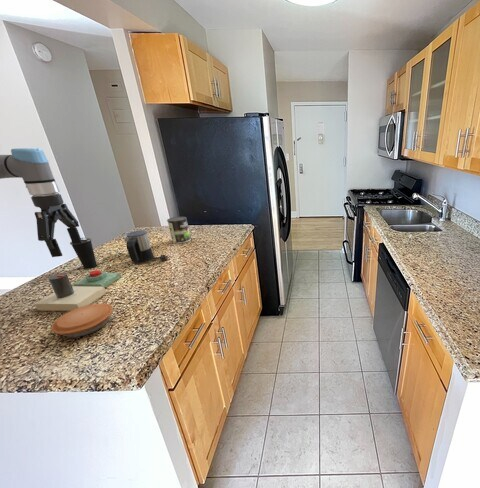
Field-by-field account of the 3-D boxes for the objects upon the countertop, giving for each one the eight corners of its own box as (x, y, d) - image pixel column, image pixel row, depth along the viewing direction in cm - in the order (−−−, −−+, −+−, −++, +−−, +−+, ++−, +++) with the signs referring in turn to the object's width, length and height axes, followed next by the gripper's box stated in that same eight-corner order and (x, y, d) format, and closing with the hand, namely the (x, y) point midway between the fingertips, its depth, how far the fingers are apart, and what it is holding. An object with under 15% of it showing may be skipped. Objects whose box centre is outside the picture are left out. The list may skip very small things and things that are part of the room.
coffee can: (194, 238, 164) (190, 216, 159) (183, 244, 155) (178, 221, 150) (179, 237, 166) (175, 216, 161) (168, 243, 156) (162, 220, 151)
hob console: (37, 310, 95) (33, 303, 94) (68, 292, 106) (65, 285, 105) (79, 311, 95) (76, 303, 93) (106, 293, 106) (103, 286, 105)
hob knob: (52, 298, 97) (43, 278, 94) (65, 290, 102) (57, 272, 99) (65, 298, 97) (57, 278, 94) (78, 291, 101) (70, 272, 98)
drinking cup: (100, 261, 133) (86, 224, 125) (100, 267, 127) (86, 228, 120) (80, 266, 128) (65, 227, 121) (80, 271, 123) (63, 232, 115)
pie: (49, 330, 85) (42, 318, 83) (106, 306, 97) (101, 295, 95) (63, 350, 77) (57, 336, 75) (123, 321, 89) (119, 309, 87)
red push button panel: (74, 288, 109) (71, 280, 107) (95, 276, 118) (92, 269, 117) (102, 288, 109) (99, 280, 107) (120, 277, 118) (118, 269, 116)
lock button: (88, 277, 110) (87, 273, 110) (95, 273, 114) (94, 269, 113) (96, 277, 110) (95, 273, 110) (103, 273, 114) (102, 269, 113)
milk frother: (135, 257, 137) (127, 231, 131) (169, 252, 144) (162, 227, 138) (130, 269, 125) (121, 240, 120) (168, 262, 132) (161, 235, 126)
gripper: (53, 189, 102) (73, 239, 110) (4, 202, 80) (33, 264, 88) (77, 188, 104) (94, 237, 112) (35, 200, 82) (61, 261, 90)
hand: (68, 249), depth 100 cm, fingers open, 13 cm apart
